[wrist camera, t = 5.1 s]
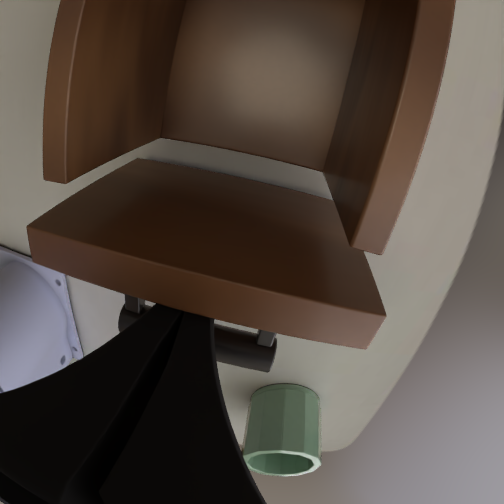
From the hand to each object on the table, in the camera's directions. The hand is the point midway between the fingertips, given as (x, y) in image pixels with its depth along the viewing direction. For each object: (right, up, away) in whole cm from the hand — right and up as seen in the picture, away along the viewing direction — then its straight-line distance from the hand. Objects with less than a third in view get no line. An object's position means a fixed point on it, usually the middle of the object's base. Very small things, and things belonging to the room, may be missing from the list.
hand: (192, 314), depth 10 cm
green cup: (+4, -10, +12) cm, 16 cm away
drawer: (+2, +8, +2) cm, 8 cm away
